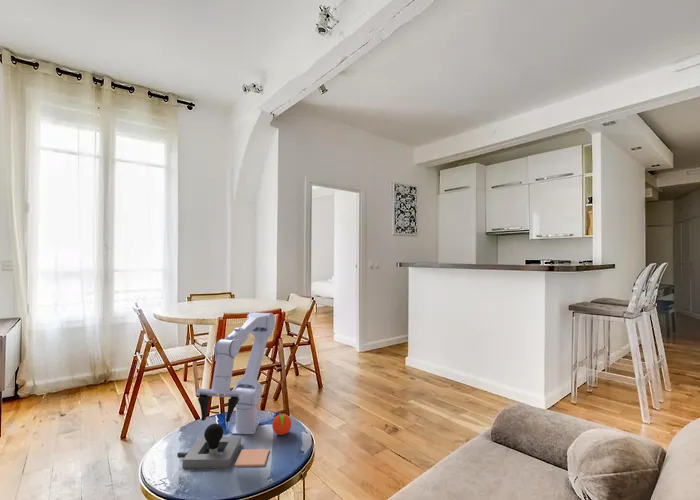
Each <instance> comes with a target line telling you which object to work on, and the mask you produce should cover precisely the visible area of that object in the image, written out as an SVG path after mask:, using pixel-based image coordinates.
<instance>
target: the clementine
mask: <svg viewBox="0 0 700 500" xmlns="http://www.w3.org/2000/svg"><path fill="white" fill-rule="evenodd" d="M271 427H272V430H273V432H274V433H275V434H276V435H279V436H283V435H285V434H288V433H289V432H290V430H291V427H292V420H291V418H290V416H289V415H287V414H286V413H279V414H278V415H276V416H275V417H274V419H273V420H272V425H271Z"/></svg>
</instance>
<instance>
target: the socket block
mask: <svg viewBox="0 0 700 500" xmlns="http://www.w3.org/2000/svg"><path fill="white" fill-rule="evenodd" d="M241 439H242V436H226V437H224V436H223V437H222V439H221V440H220V442H219V445H218V450H223V451H222V452H221V453H217V454H210V453H205V451H206V450H210V449H209V445H208V442H207V441H206V440H205V437H203V436H202V437H201V436H200V437H199V438H198V439H197V440H196V442H195V443H194V444H193V446H192V447H191V448H190V449H189V451H187V452H186V451H185V452H183V451H182V452H180V451H179V452H177V454H176V456H178V457H183V459H182V469H204V468H205V469H206V468H207V469H210V468H213V469H214V468H215V469H219V468H222V469H223V468H225V469H226V468H230V467H231V465H232V463H233V461H234V459H235V456H236V455H237V453H238V451H239V449H240V447H241V444H242V440H241Z"/></svg>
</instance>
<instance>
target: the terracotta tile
mask: <svg viewBox="0 0 700 500" xmlns="http://www.w3.org/2000/svg"><path fill="white" fill-rule="evenodd" d="M269 453H270V449H269V448H265V449H264V448H262V449H261V448H257V449H254V448H251V449H248V448H247V449H245V448H244V449H241V451H240V453H239V454H238V457H237V459H236V461H235V463H234V467H236V468H237V467H241V468H245V467H265V465H266V462H267V459H268V456H269Z"/></svg>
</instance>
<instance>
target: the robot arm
mask: <svg viewBox="0 0 700 500" xmlns="http://www.w3.org/2000/svg"><path fill="white" fill-rule="evenodd" d="M275 320H276V319H275V315H274V313H273V312H254V311H250V312H249V313H248V314H247V316H246V321H245V322H244V323H243V324H242V326H241V327H235V328H234V329H233V330H232V331H231V332H230V333H229V334H228V335H227V336H226V337H225V338H220V339H219V340H217V342H216V343H215V346H214V348H213V349H214V350H213V351H214V362H215V365H214V372H213V378H212V384H211V388H197V389H196V396H198V397H197V398H198V399H197V400H198V403H199V406H200V407H199V408H200V413H201V421H205V420H207V415H208V414H207V413H208V407H209V403H210V400H211V397H215V398H216V397H217V398H218V397H219V398H228V400H227V411H226V417H225V418H226V419H225V423H229V422H230V421H231V418H232V415H233V413H234V410H235V427H234V429H233V430H232V432H231V435H254V434H255V433H256V430H257V428H258V426H259V424H260V421H258V420H257V419H258V417H257V413H258V410H257V409H258V405H259V403H260V402H261V399H262V389H263V386H262V384H261V383H260V381H259V380H258V377H259V373H260V369H261V365H262V363H263V359H264V354H265V352H266V351H265V350H266V347H267V342H268V339H269V337H271V336H272V335H273V332H274V327H275V322H276V321H275ZM249 334H251V335H252V336H254V340H253V344H252V347H251V351H250V354H249V358H248V361H247V364H246V368H245V372H244V375H243V377H242V378H240V379H238V380H237V381H236V382H235V385H234V387H233V389H232V390H230V389H231V384H232V383H231V382H232V377H233V370H234V363H235V358H236V357H238V355H239V353H240V350H241V348H242V345H243V344H244V343H245V342H246V341H247V340H248V338H249Z"/></svg>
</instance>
